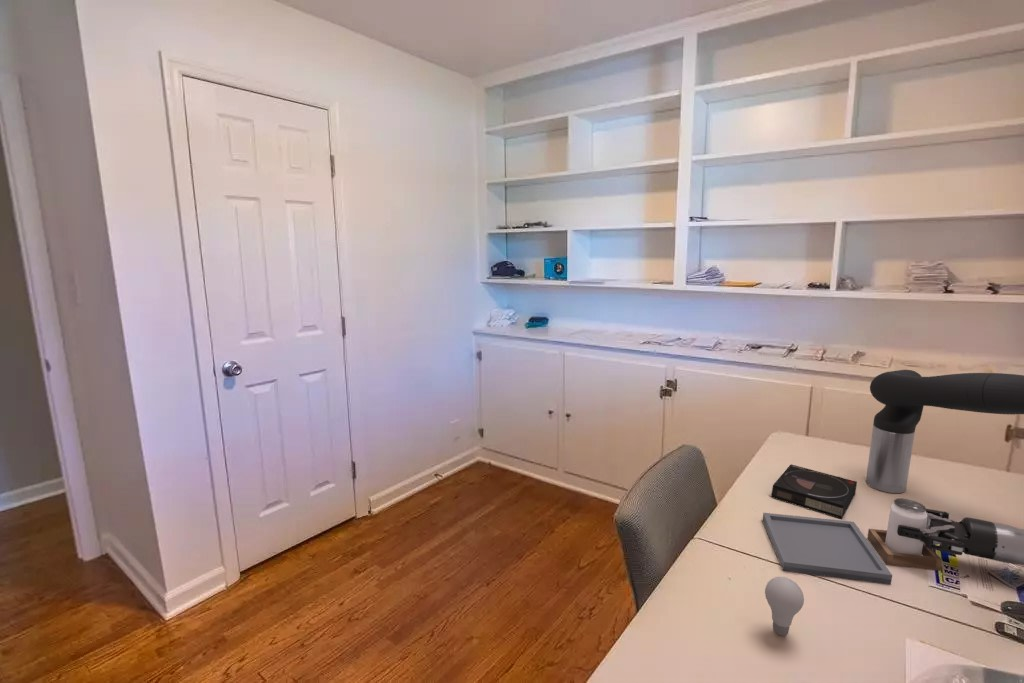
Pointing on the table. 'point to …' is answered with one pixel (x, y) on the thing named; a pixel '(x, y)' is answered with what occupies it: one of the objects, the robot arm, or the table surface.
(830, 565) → the tray
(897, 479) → the robot arm
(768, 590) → the lightbulb
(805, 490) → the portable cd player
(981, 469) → the table surface
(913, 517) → the can
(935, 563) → the holder
